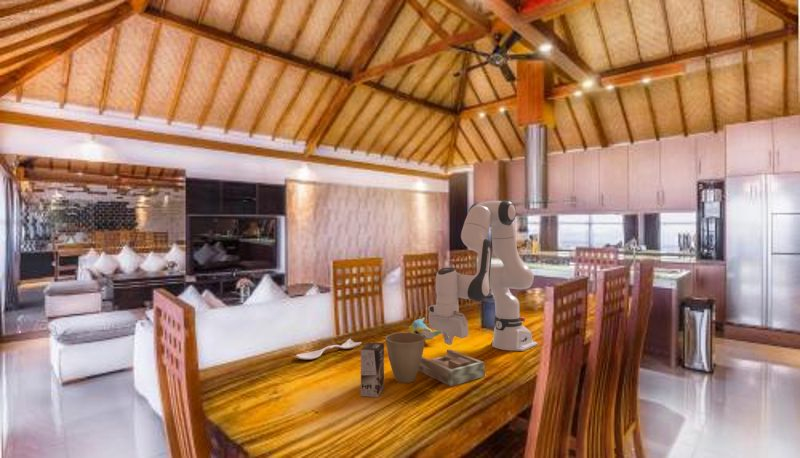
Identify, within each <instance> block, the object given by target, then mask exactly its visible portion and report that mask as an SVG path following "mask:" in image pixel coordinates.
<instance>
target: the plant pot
mask: <svg viewBox="0 0 800 458" xmlns="http://www.w3.org/2000/svg"><path fill="white" fill-rule="evenodd" d="M385 342H386V349H387V350H386V351H387V357H388V361H389V363H390V368H391V371H392V374H393V376H394V379H395V381H396V382H397V383H401V384H409V383H413V382H414V381H415V380H416V378H417V375H418V372H419V371H418V369H419V366H420V363H421V359H422V357H423V353H424V348H425V342H426V340H425V337H424V336H423V335H420V334H416V333H408V332H395V333H394V332H393V333H391V334H387V335H386V336H385Z"/></svg>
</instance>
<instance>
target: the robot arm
mask: <svg viewBox="0 0 800 458" xmlns="http://www.w3.org/2000/svg"><path fill="white" fill-rule="evenodd" d="M516 216H517V210H516V206H515V205H514V204H513V201H512V202H511V201H509V200H490V201H484V202H477V203H473V204H472V205H470V207H469V209H468V213H467V215H466V218H465V220H464V223H463V226H462V229H461V233H460V239H461V241H462V244H464V246H466V247H467V248H468V249H470V250H471V251H473V252H475V253H477V255H478V259H477V268H476V272H475V274H473V275H472V274H463V273H460V272H457V270H456V269H455V268H453V267H443V268H441V269H439V270H437V272H436V276H435V293H436V300H435V304H433V305H429V306H428V310H427V311H428V312H429V313H428V326H429V328H430V329H433V330H434V331H437V330H438V331H441V332H442V333H441V335H442V337H443V342H444V344H446V345H449V346H452V345H453V340H454V337H455V338H460V339H463V338H467V337H468V336H469V327H468V325H469V324H468V320H467V318H466V316H465V314H464V313H463V312H459V311H460V310H459V299H458V298H461V299H467V300H471V301H475V302H482V301H484V300H485V299H487V298H488V296H489V295H490V293H492V296H493V299H494V308H495V310H494V311H495V312H494V313H495V316H494V327H493V328H494V329H493V339H492V340H491V342H492V345H491V346H492V347H493V348H495V349H497V350H501V351H502V350H503V351H517V352H524V351H526V350H529V349H531V348H533V347H536V346H538V342H536V341H535V340H533V337H532V336H533V335H532V332H531V331H530V330H529V329H528V328H527V327H526V326H525V325H524V324H523V322H526V320H527V319H526V317H524V316H521V317H520V301H519V299H518V298H517V297H516V296H514V295H513V294H512V292H511V290H510V289H512V290H524V289H525V290H526V289H529V288H531V286H532V285H533V283H534V279H535V277H534V273H533V271H532V269H531V268H529V267H528V265H526V264H525V263H524V261H523V260H522V258H521V256H520V255H519V252H518V248H517V240H516V238H517V236H516V230H515V225H514V221H515V220H516V218H517V217H516ZM490 230H491V231H490ZM489 231H490V233H491V234H490V235H491V241H490V240H489V239H488V238H489V237H488V235H489ZM492 252H493V255H494V256H495V257H496V258H497V259H499V260H500V261H501V263H502V264H501V263H494V264H492ZM490 291H491V292H490Z"/></svg>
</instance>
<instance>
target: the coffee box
mask: <svg viewBox="0 0 800 458" xmlns="http://www.w3.org/2000/svg"><path fill="white" fill-rule="evenodd" d="M384 389H385V343H383V342H367V343H365V345H364V346H363V347H361V349H360V396H361V397H371V398H378V397H379V396H380V395H381V394H382V392H383V390H384Z"/></svg>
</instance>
